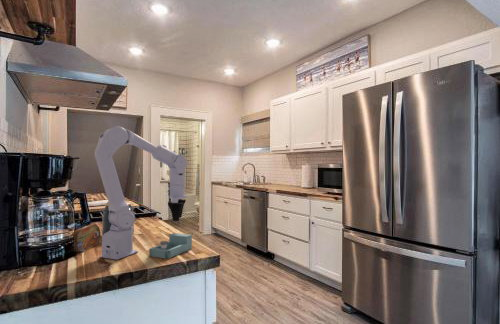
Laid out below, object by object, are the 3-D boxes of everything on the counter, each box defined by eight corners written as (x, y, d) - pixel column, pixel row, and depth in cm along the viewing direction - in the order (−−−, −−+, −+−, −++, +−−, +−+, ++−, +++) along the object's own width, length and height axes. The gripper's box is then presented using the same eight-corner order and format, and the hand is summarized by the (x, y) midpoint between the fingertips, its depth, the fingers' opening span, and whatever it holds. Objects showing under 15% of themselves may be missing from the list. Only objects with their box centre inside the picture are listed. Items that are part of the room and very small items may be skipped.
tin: (77, 255, 100) (77, 230, 100) (68, 255, 100) (68, 230, 100) (101, 243, 115) (101, 222, 115) (93, 243, 115) (93, 222, 115)
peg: (164, 256, 97) (164, 242, 97) (158, 255, 98) (158, 242, 98) (169, 254, 99) (169, 241, 99) (163, 253, 100) (163, 240, 100)
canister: (104, 233, 132) (105, 195, 133) (135, 231, 136) (135, 194, 137) (99, 240, 120) (99, 198, 120) (132, 237, 124) (132, 196, 124)
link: (168, 258, 95) (168, 243, 95) (149, 255, 98) (149, 241, 98) (191, 248, 107) (191, 234, 107) (174, 246, 110) (174, 233, 110)
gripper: (185, 185, 108) (185, 222, 108) (189, 183, 122) (189, 215, 122) (166, 186, 107) (166, 222, 107) (172, 184, 121) (172, 216, 121)
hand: (177, 219), depth 114 cm, fingers open, 7 cm apart
